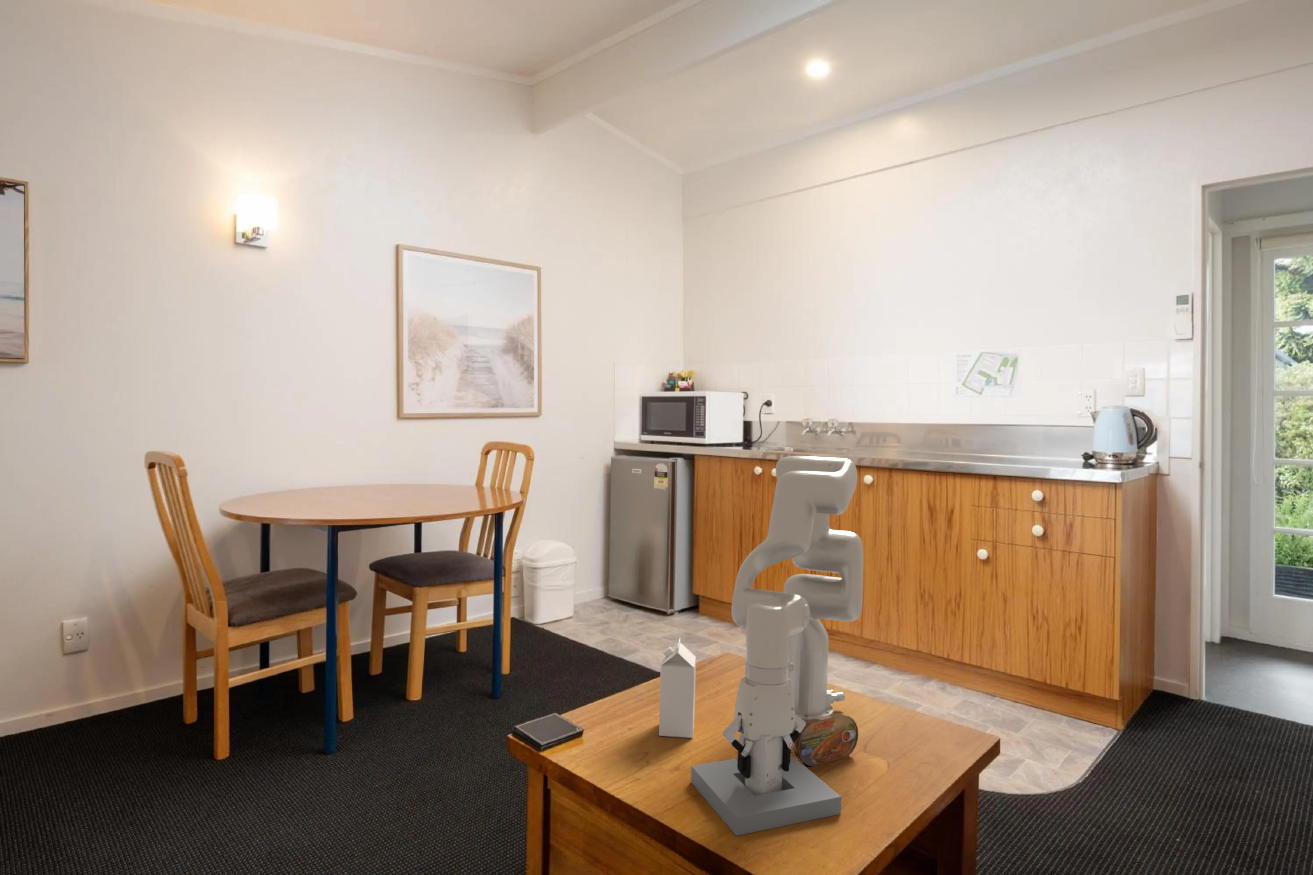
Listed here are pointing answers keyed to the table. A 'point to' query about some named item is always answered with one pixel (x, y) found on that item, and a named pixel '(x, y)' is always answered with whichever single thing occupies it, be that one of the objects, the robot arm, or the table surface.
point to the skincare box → (765, 766)
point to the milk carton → (677, 692)
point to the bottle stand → (764, 797)
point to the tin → (826, 739)
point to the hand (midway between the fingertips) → (763, 770)
